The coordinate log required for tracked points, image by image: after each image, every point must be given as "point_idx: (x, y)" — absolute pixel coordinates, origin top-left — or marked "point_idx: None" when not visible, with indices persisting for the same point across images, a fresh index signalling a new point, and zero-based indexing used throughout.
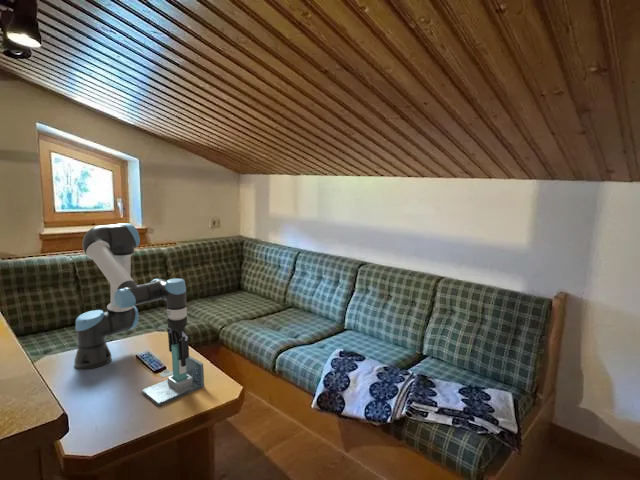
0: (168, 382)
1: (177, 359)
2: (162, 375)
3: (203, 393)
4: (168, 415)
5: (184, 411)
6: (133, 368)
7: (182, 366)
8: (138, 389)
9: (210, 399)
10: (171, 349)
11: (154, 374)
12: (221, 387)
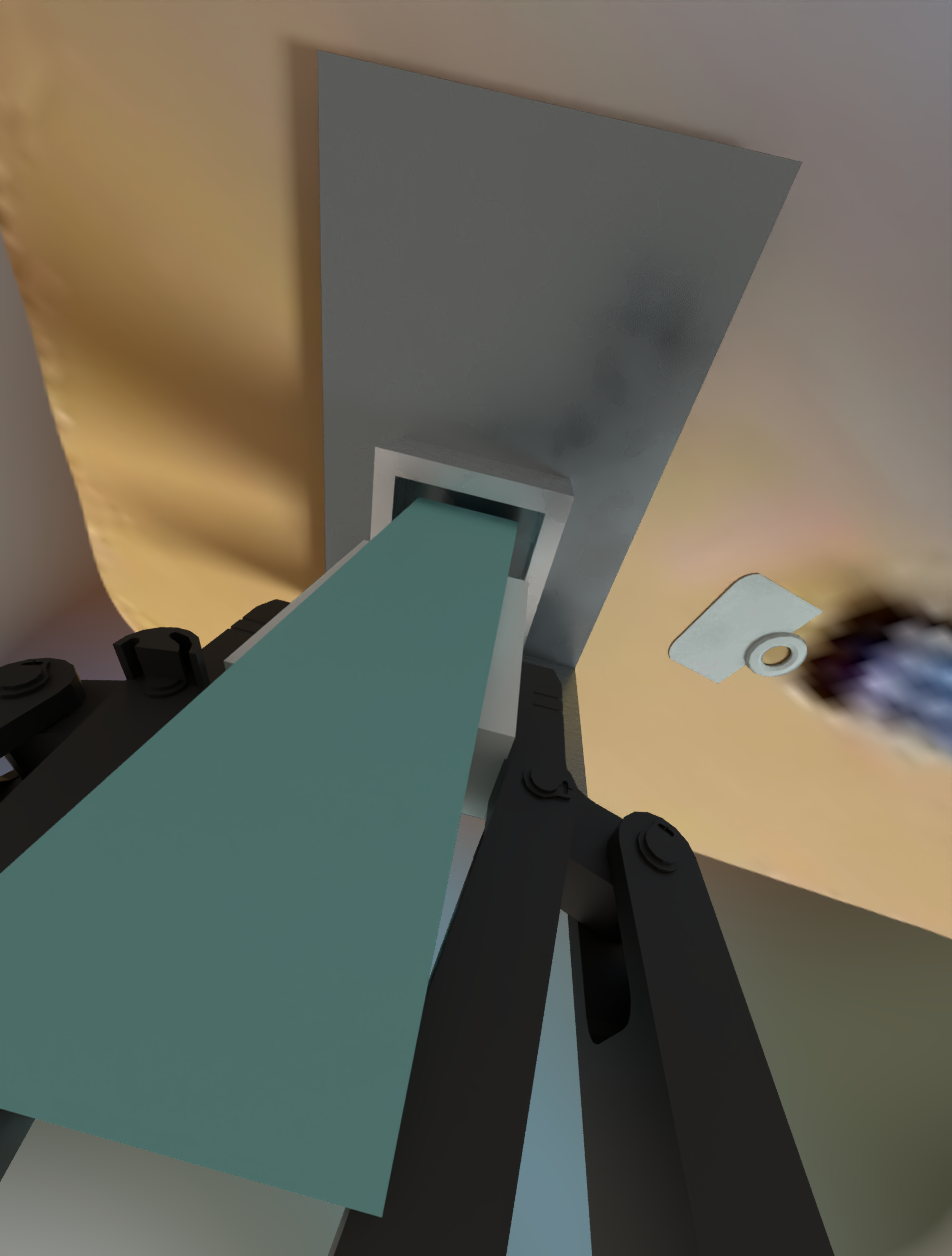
0: (555, 479)
1: (260, 646)
2: (766, 596)
3: (269, 547)
4: (106, 19)
5: (102, 235)
6: None
7: (274, 602)
8: (889, 230)
9: (168, 512)
10: (612, 885)
11: (865, 578)
12: None
